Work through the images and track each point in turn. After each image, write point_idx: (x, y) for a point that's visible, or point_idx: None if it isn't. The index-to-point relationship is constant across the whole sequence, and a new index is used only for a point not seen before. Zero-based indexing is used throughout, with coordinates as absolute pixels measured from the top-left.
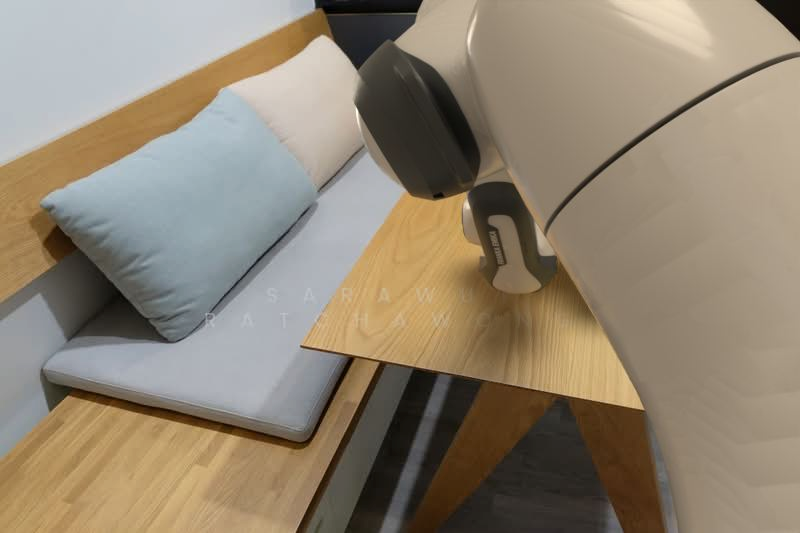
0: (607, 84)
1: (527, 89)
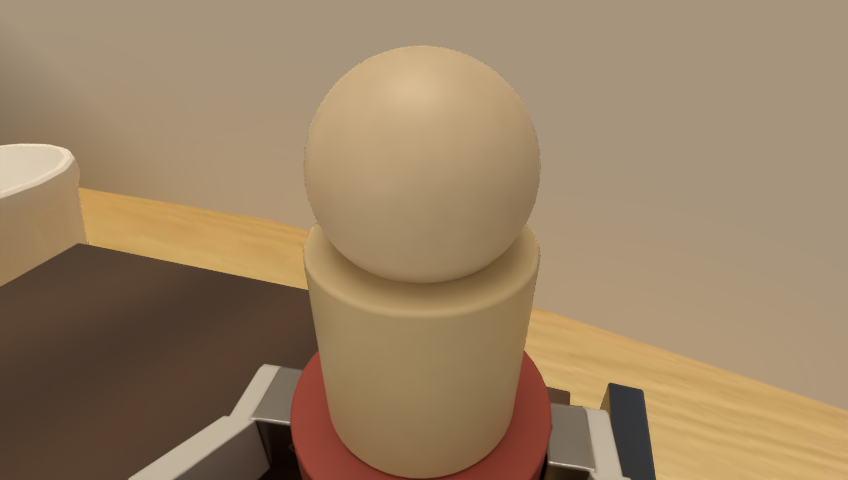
0: None
1: None
